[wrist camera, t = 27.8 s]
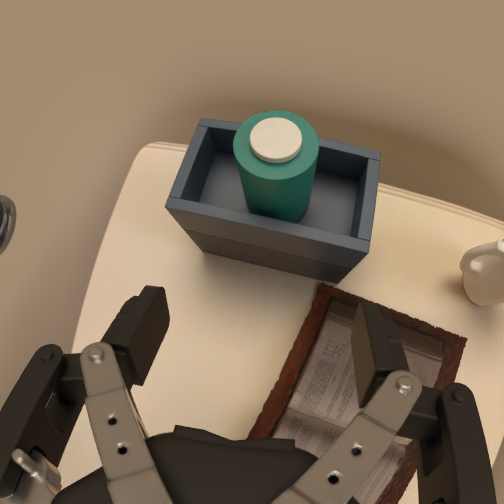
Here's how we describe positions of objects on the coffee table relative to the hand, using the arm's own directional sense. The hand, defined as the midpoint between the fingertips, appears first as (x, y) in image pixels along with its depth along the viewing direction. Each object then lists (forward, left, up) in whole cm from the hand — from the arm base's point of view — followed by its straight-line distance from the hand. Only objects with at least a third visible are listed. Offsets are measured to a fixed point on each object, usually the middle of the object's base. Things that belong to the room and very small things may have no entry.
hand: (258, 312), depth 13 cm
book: (+8, -11, -21) cm, 25 cm away
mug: (+24, +5, -21) cm, 32 cm away
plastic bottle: (+1, +11, -12) cm, 16 cm away
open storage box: (+1, +11, -21) cm, 23 cm away
